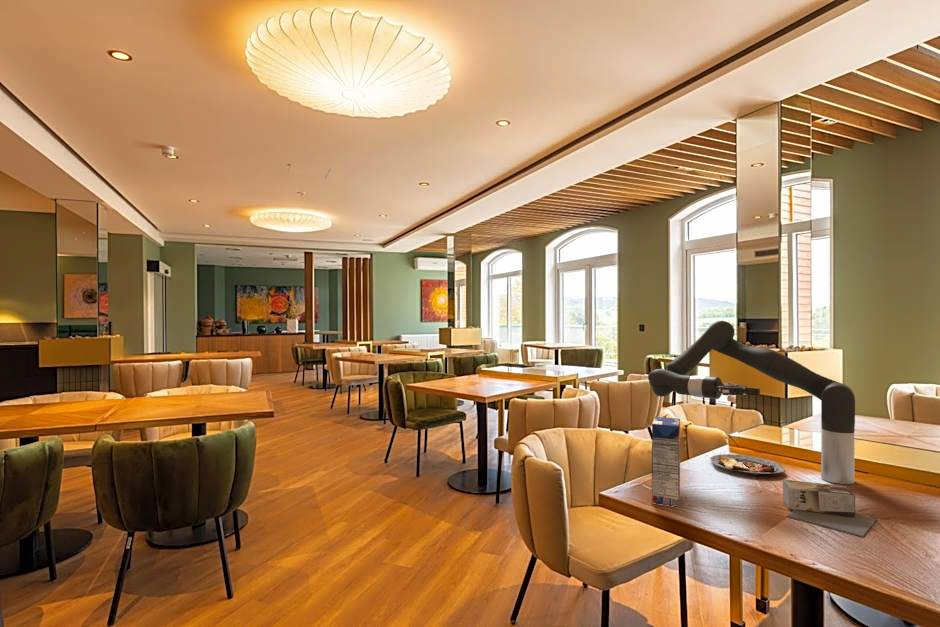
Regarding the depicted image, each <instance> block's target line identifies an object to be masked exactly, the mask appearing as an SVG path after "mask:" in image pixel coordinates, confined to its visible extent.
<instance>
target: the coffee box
mask: <svg viewBox="0 0 940 627" xmlns="http://www.w3.org/2000/svg"><path fill="white" fill-rule="evenodd" d="M782 500H783V502H784V503H785V505H786V506H787V508H788V509H789V510H803V511H811V512H819V513H827V514H835V515H843V516H851V517H855V514H856V494H854V493H853V492H852V491H851V490H850V489H849V488H848V487H847V486H845V485H842V484H832V483H831V484H830V483H829V484H828V483H821V482H810V481H800V480H791V479H790V480H789V479H782Z"/></svg>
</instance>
